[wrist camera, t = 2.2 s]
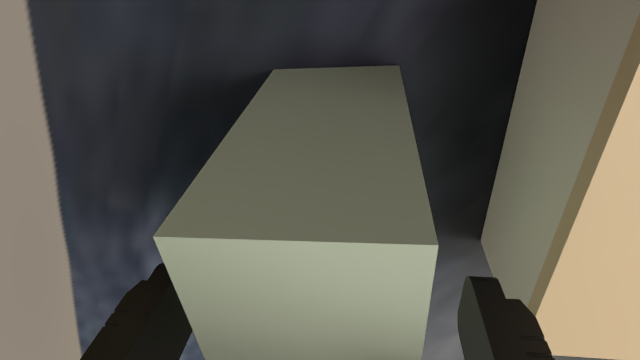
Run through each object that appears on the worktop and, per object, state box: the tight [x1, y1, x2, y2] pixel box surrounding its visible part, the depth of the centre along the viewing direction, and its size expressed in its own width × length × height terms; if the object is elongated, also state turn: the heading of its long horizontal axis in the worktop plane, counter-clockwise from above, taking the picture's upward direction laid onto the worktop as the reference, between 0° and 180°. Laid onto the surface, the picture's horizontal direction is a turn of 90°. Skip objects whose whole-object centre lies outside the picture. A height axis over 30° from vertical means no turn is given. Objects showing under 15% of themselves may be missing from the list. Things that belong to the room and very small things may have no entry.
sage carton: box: [153, 65, 438, 360], centre depth 13 cm, size 8×5×10 cm, turn 4°
